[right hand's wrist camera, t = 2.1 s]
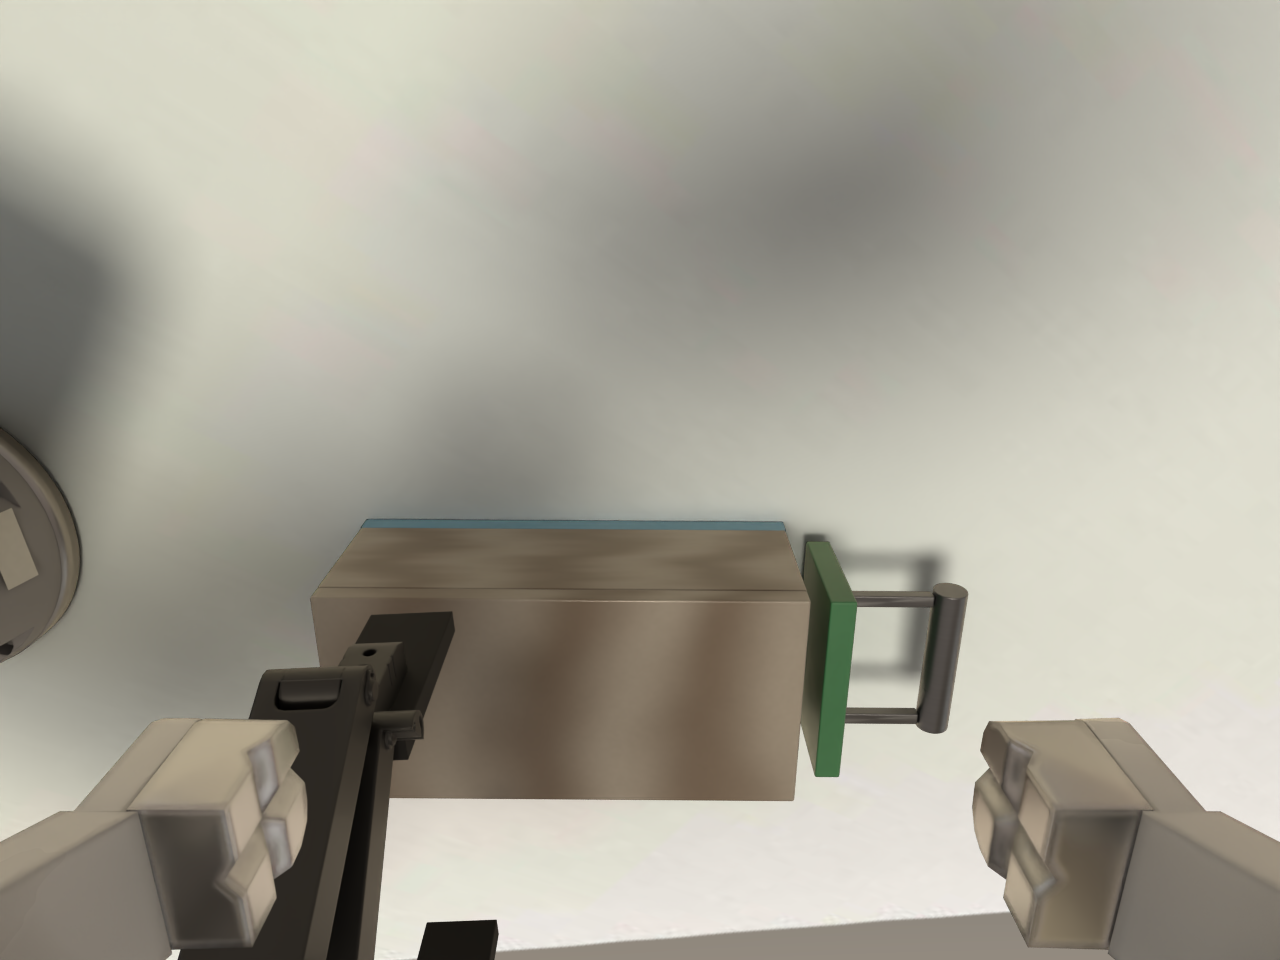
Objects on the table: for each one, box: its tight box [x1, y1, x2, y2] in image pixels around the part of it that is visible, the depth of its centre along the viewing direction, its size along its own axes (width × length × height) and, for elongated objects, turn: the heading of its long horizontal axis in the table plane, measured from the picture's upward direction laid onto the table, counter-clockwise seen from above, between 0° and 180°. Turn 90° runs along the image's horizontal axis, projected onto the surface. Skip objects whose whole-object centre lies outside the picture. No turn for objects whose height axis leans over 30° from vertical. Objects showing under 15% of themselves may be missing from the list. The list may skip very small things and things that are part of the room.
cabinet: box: [310, 519, 811, 801], centre depth 44 cm, size 22×11×8 cm, turn 90°
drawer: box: [801, 542, 968, 777], centre depth 44 cm, size 26×10×6 cm, turn 90°
